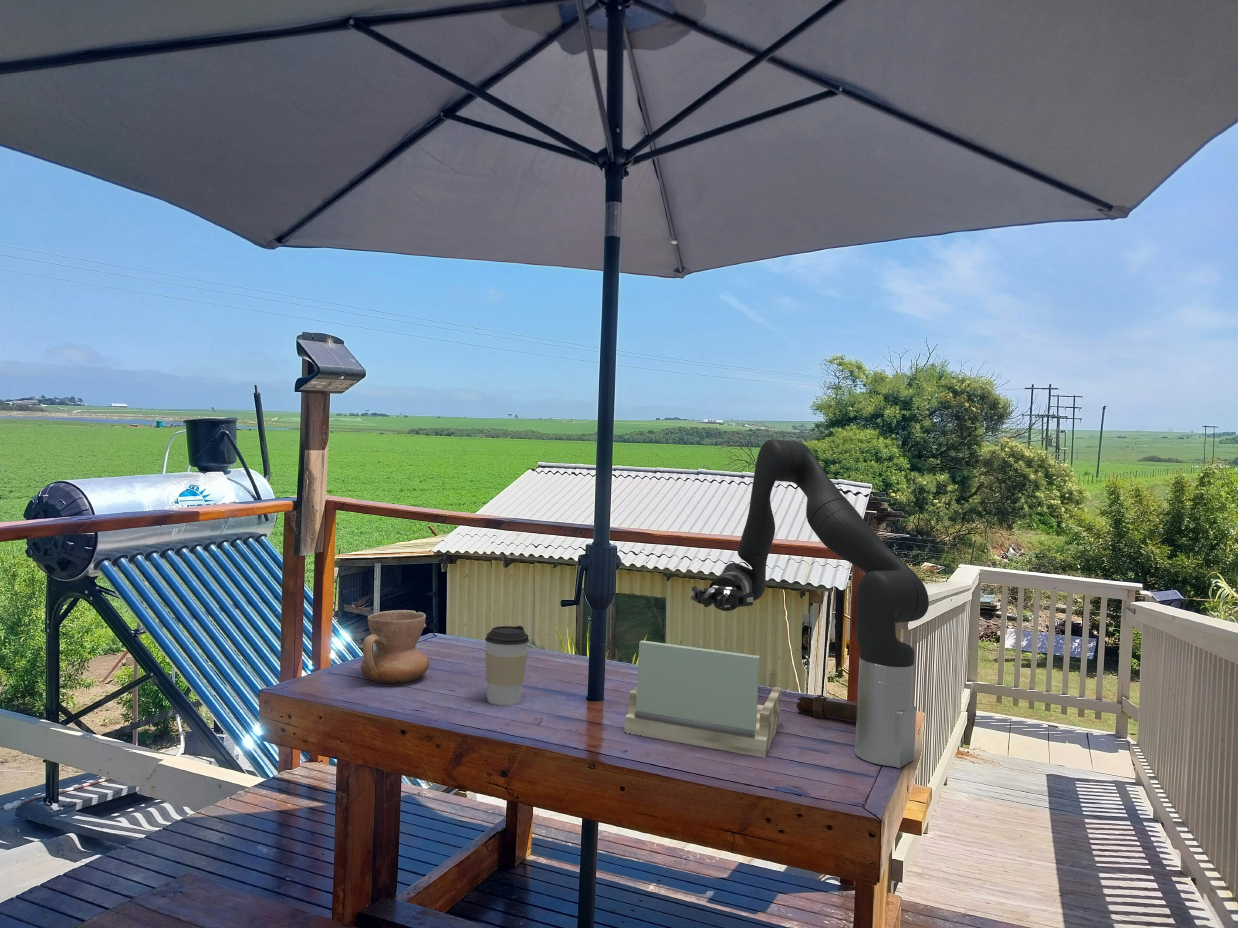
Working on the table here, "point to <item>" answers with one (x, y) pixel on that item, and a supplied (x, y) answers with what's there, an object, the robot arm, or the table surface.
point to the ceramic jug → (394, 647)
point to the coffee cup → (505, 664)
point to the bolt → (827, 708)
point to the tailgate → (698, 688)
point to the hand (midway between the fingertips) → (712, 602)
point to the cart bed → (711, 739)
